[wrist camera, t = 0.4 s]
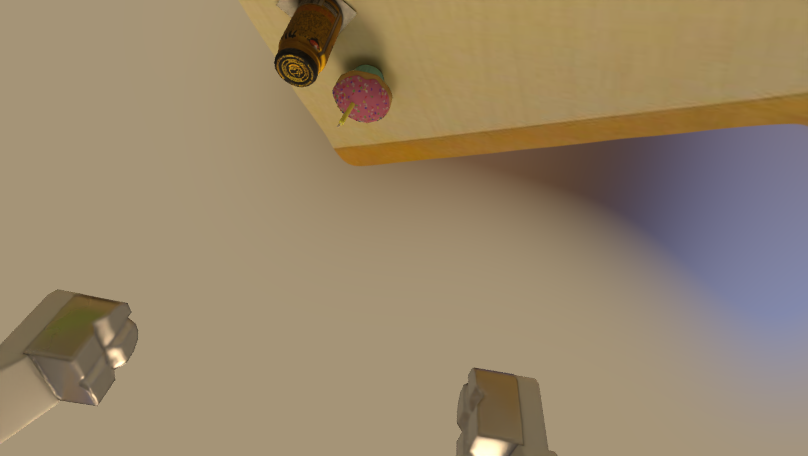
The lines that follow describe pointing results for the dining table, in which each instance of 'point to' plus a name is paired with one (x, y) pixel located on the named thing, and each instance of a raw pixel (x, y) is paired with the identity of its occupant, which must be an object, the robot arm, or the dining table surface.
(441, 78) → the dining table surface
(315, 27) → the condiment
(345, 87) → the cupcake
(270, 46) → the dining table surface
